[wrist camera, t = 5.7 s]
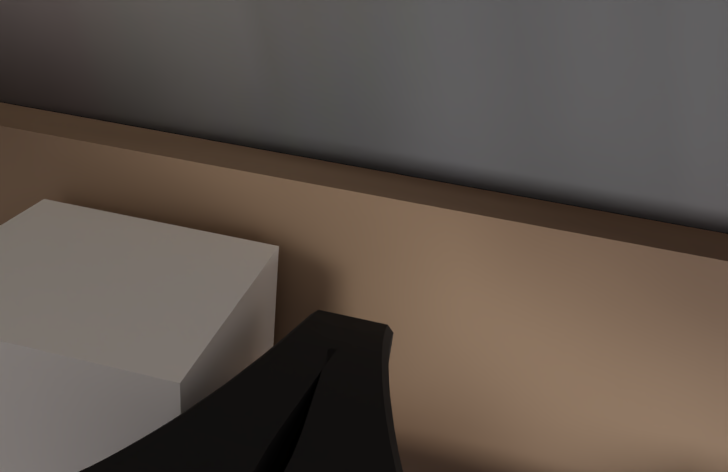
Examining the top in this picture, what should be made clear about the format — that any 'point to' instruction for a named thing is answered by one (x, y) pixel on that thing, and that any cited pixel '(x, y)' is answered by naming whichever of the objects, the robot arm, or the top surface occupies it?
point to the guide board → (443, 292)
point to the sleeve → (118, 328)
